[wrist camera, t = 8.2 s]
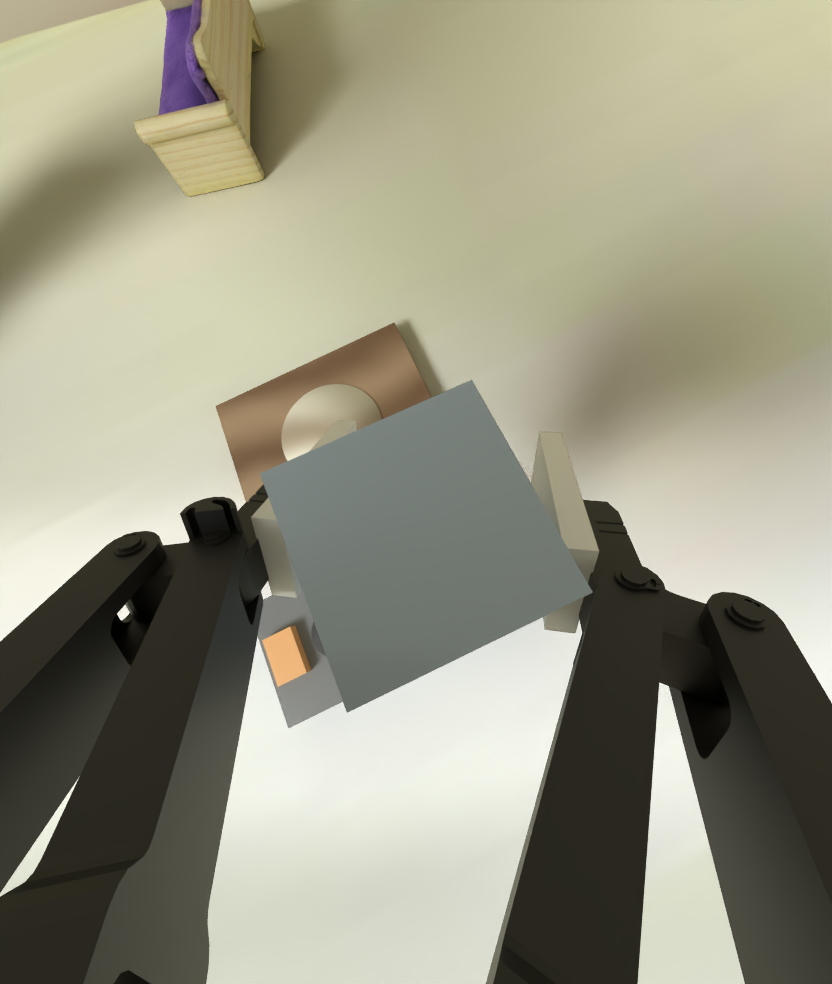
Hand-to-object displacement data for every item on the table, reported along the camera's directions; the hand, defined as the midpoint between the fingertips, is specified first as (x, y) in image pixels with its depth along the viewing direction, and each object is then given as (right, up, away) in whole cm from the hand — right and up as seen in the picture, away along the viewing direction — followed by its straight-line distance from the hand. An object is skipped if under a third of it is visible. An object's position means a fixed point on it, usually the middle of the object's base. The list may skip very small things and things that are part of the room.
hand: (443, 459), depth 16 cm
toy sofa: (-21, +38, +28) cm, 52 cm away
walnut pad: (-7, +3, +17) cm, 19 cm away
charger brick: (0, -5, +3) cm, 6 cm away
